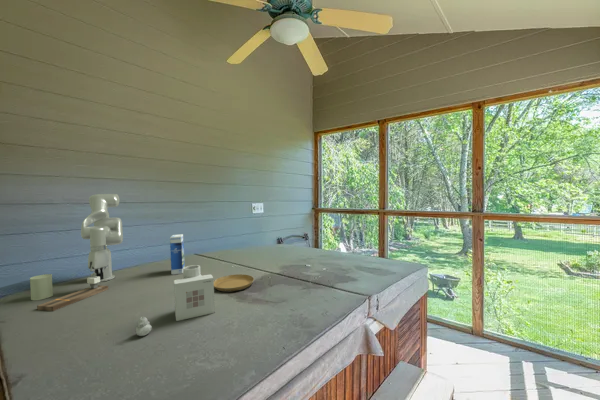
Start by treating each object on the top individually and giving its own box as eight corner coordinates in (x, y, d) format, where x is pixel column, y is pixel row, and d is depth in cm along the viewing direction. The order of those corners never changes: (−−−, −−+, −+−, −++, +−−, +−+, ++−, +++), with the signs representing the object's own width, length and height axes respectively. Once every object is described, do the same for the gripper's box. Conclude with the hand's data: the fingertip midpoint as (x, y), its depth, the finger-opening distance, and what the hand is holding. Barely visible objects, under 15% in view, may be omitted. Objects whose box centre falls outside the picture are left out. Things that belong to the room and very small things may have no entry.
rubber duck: (132, 338, 106) (131, 318, 105) (141, 330, 112) (141, 310, 112) (146, 338, 106) (145, 317, 106) (155, 329, 112) (154, 310, 112)
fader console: (37, 309, 136) (37, 305, 136) (94, 288, 165) (94, 285, 165) (53, 311, 134) (53, 306, 134) (108, 289, 163) (108, 285, 163)
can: (56, 295, 156) (55, 274, 155) (35, 301, 147) (34, 279, 147) (48, 293, 159) (47, 272, 159) (27, 299, 151) (25, 277, 151)
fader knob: (87, 288, 159) (87, 277, 158) (93, 286, 162) (92, 275, 162) (94, 288, 158) (94, 278, 157) (100, 286, 161) (99, 276, 161)
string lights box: (182, 273, 191) (181, 236, 190) (170, 275, 189) (169, 237, 188) (184, 268, 204) (183, 233, 203) (173, 269, 202) (172, 234, 201)
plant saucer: (223, 297, 147) (223, 290, 146) (205, 286, 165) (205, 280, 165) (262, 285, 162) (261, 280, 162) (241, 277, 181) (241, 272, 180)
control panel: (176, 321, 119) (174, 275, 119) (173, 306, 136) (172, 265, 135) (215, 312, 127) (213, 269, 126) (208, 299, 143) (206, 261, 143)
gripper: (104, 245, 171) (106, 275, 171) (80, 251, 156) (82, 283, 157) (114, 246, 170) (116, 275, 170) (91, 251, 155) (93, 283, 155)
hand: (100, 279), depth 163 cm, fingers closed
